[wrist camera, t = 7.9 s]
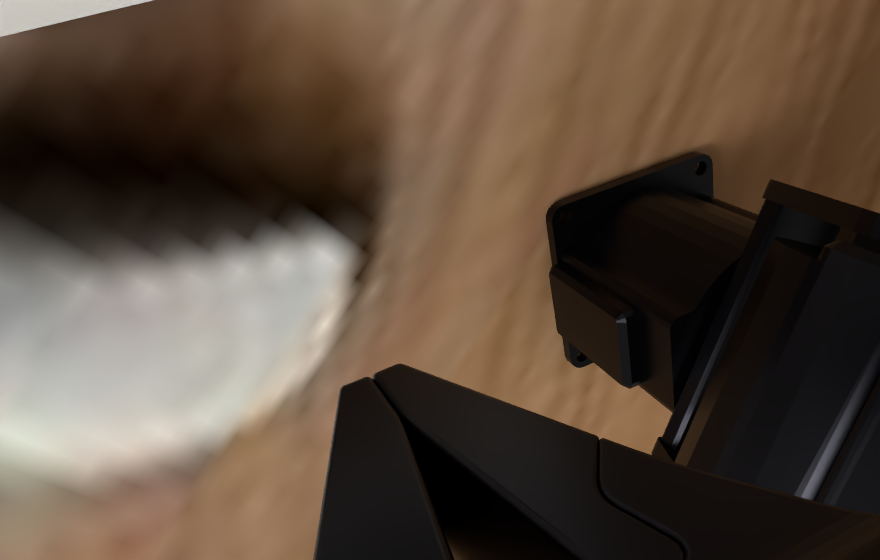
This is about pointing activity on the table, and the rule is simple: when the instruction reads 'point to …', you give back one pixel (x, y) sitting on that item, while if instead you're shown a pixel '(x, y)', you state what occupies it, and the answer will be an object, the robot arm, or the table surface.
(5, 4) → the console
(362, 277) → the table surface
